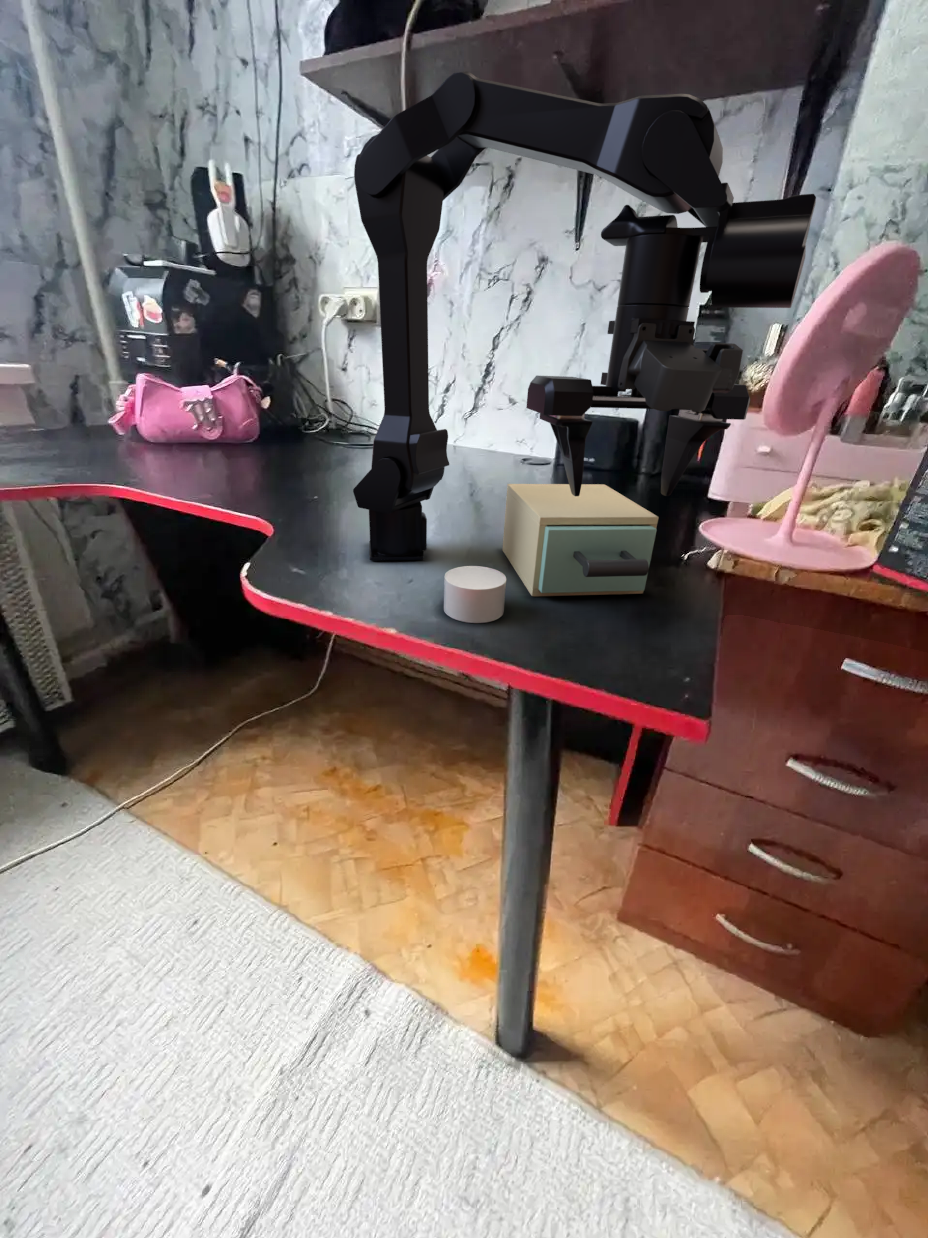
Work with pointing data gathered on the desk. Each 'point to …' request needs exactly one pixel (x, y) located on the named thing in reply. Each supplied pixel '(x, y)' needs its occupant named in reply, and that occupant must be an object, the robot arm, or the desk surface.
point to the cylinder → (474, 594)
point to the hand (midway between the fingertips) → (620, 495)
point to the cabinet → (560, 522)
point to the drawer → (595, 558)
